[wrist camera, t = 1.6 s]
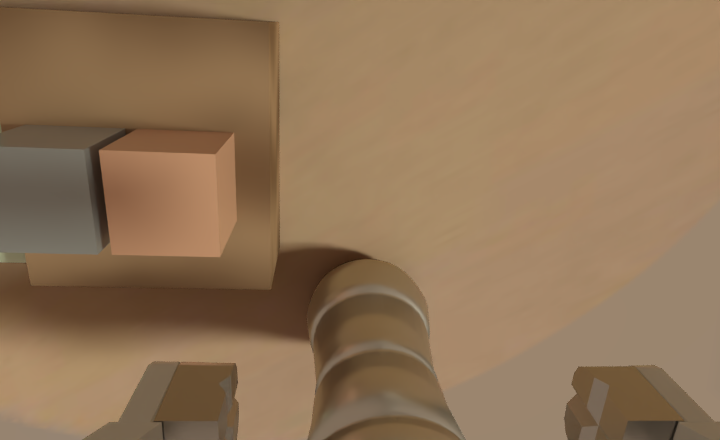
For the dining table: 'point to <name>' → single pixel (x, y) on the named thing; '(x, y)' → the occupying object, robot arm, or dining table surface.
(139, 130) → the peach colored cube
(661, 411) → the robot arm
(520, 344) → the dining table surface
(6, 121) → the brown wooden block
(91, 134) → the matte grey cube
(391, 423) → the plastic bottle
